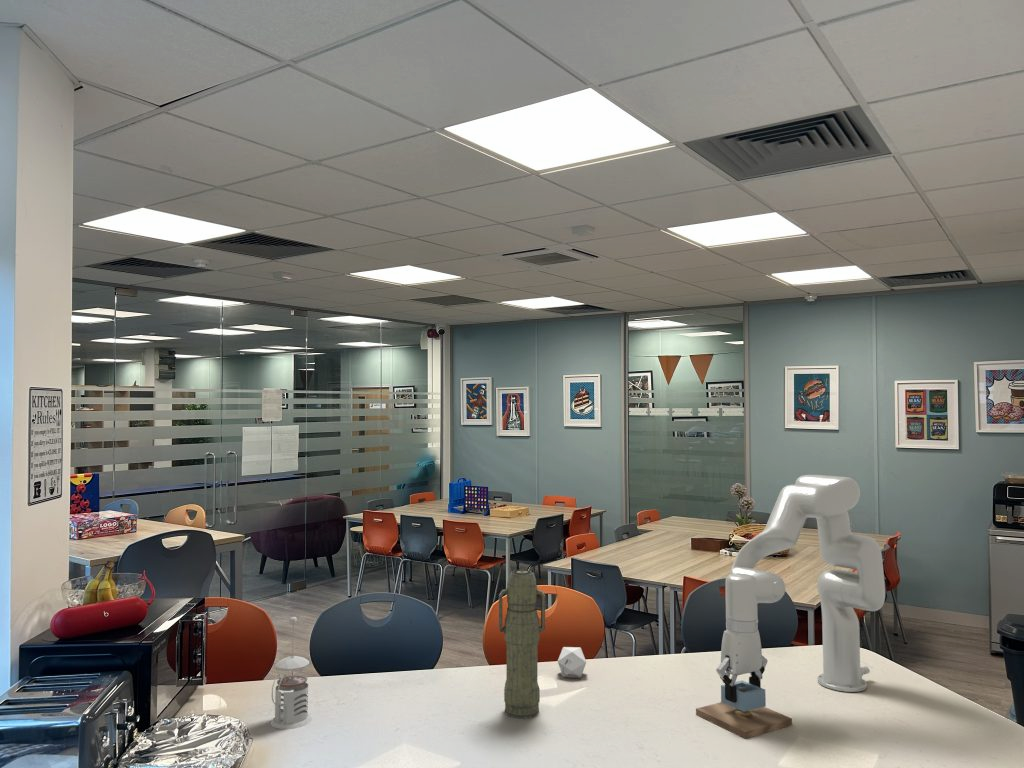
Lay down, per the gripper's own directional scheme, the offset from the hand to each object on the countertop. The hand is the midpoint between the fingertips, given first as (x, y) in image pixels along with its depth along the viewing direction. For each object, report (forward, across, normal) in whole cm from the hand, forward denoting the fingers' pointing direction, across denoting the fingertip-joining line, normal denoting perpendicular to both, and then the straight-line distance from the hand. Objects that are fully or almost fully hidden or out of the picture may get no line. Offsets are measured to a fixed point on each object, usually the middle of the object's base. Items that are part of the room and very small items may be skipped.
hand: (743, 697), depth 179 cm
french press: (+5, +98, -53) cm, 112 cm away
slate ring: (+2, 0, 0) cm, 2 cm away
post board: (+5, 0, 0) cm, 5 cm away
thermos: (+5, +45, -31) cm, 55 cm away
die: (+6, +19, -47) cm, 51 cm away
